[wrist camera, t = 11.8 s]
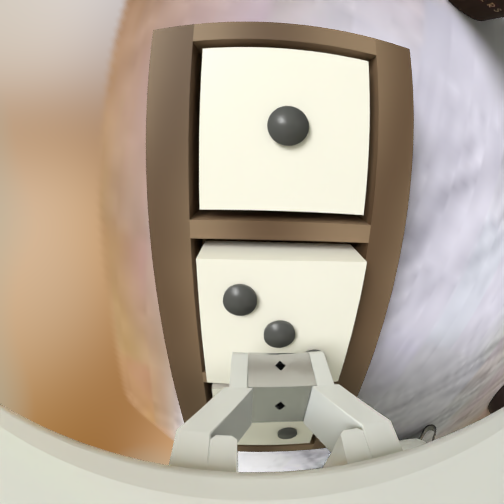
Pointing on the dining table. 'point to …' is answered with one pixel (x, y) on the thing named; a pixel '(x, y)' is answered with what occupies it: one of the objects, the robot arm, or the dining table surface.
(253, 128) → the one dot tile
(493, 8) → the coffee mug
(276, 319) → the three dot tile
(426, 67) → the dining table surface
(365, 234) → the tile board
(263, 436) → the two dot tile
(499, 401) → the bottle
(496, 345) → the dining table surface
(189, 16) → the dining table surface
